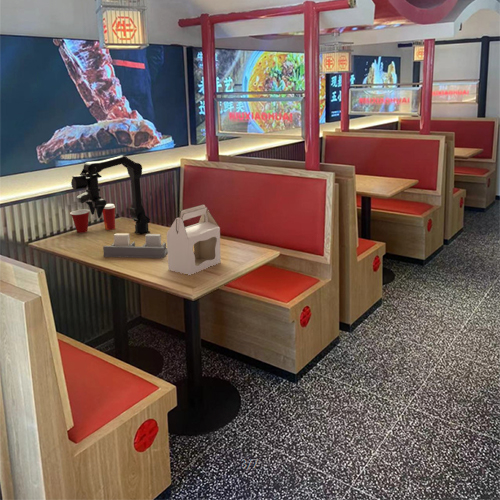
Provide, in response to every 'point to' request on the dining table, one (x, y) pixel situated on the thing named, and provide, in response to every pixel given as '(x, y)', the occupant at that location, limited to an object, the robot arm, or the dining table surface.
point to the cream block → (121, 239)
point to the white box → (153, 240)
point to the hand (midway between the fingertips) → (95, 216)
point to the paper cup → (109, 216)
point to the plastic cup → (80, 220)
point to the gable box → (193, 242)
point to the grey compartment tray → (135, 251)
